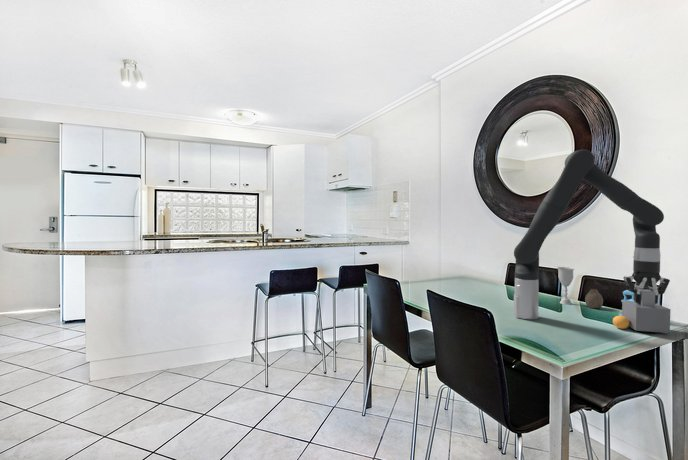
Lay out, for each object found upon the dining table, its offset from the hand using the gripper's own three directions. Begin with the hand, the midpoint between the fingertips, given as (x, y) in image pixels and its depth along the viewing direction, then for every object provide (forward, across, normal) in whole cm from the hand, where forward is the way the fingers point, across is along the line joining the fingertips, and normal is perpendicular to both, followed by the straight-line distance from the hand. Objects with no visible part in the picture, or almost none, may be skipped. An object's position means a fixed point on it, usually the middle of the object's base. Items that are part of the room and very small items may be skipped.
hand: (645, 303), depth 125 cm
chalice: (+11, -15, +38) cm, 42 cm away
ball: (+8, -8, 0) cm, 11 cm away
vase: (+11, -5, +32) cm, 34 cm away
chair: (+10, +5, +18) cm, 21 cm away
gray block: (+9, 0, 0) cm, 9 cm away
